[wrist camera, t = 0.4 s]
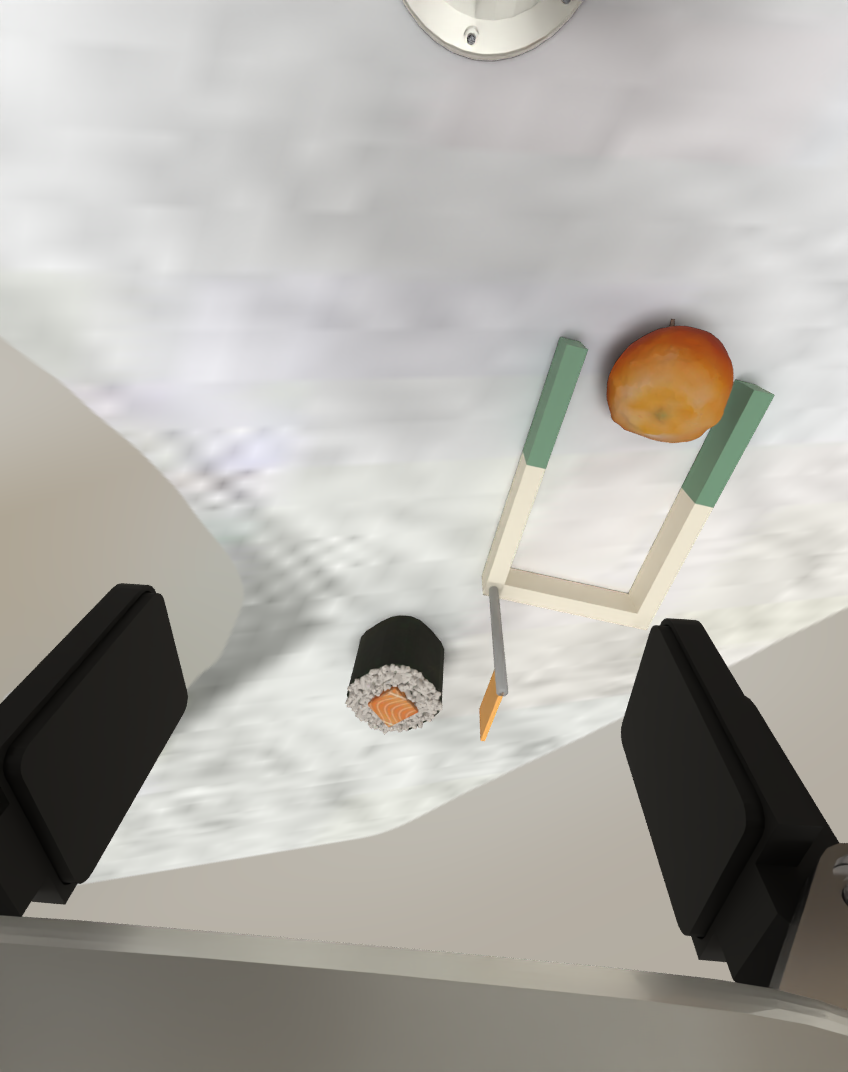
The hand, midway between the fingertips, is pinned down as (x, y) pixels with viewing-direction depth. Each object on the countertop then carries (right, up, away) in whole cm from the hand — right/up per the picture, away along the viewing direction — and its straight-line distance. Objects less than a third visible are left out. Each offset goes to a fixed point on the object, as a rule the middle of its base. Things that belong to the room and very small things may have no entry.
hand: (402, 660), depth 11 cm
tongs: (+15, +4, +36) cm, 39 cm away
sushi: (-2, -9, +45) cm, 46 cm away
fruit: (+17, +15, +30) cm, 38 cm away
